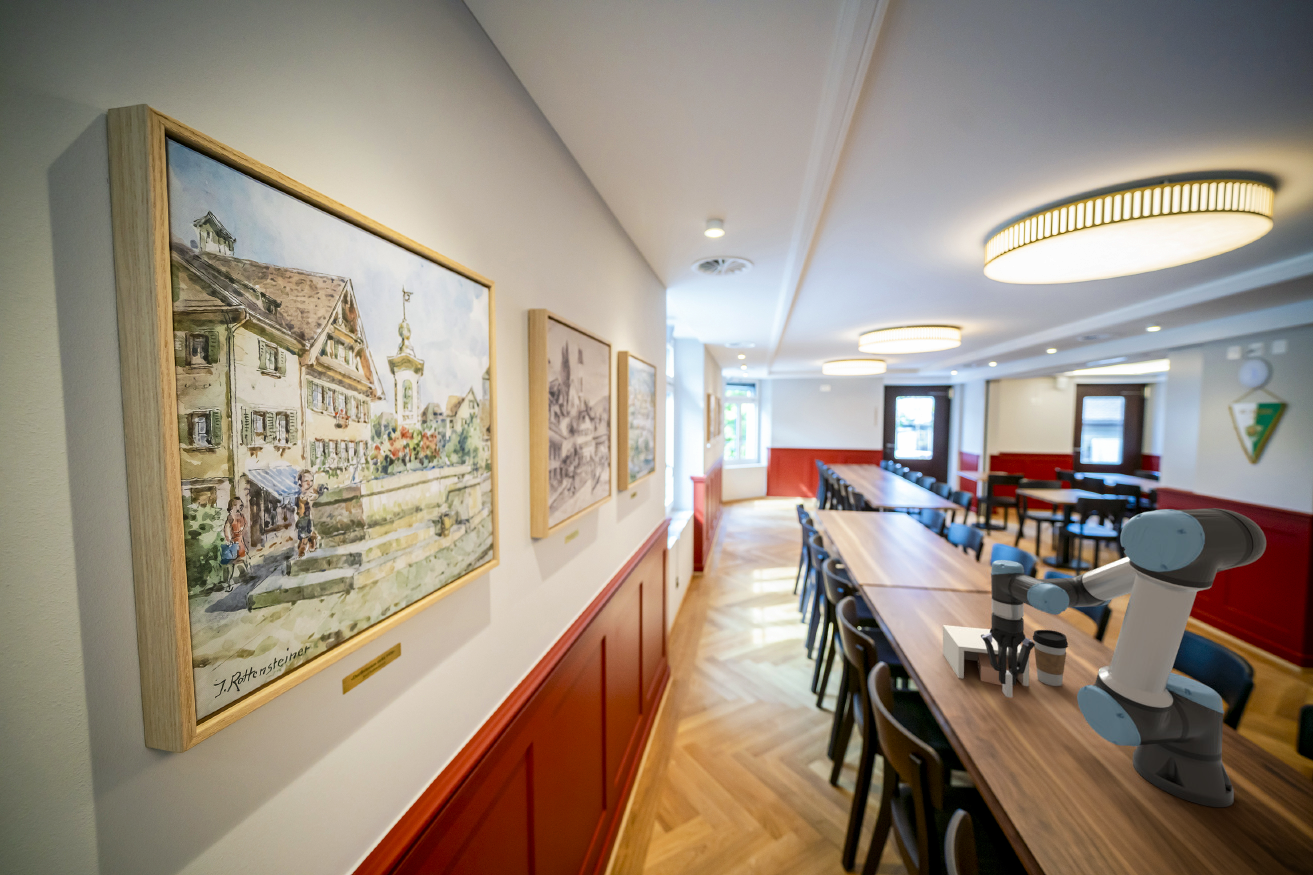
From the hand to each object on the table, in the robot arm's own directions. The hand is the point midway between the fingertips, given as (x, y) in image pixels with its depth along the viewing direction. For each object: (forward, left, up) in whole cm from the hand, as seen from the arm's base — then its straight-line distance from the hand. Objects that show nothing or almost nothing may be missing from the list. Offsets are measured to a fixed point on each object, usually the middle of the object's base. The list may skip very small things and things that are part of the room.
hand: (1007, 694), depth 136 cm
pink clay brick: (+13, -2, -2) cm, 14 cm away
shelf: (+18, 0, -2) cm, 18 cm away
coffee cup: (+15, -17, -2) cm, 22 cm away
